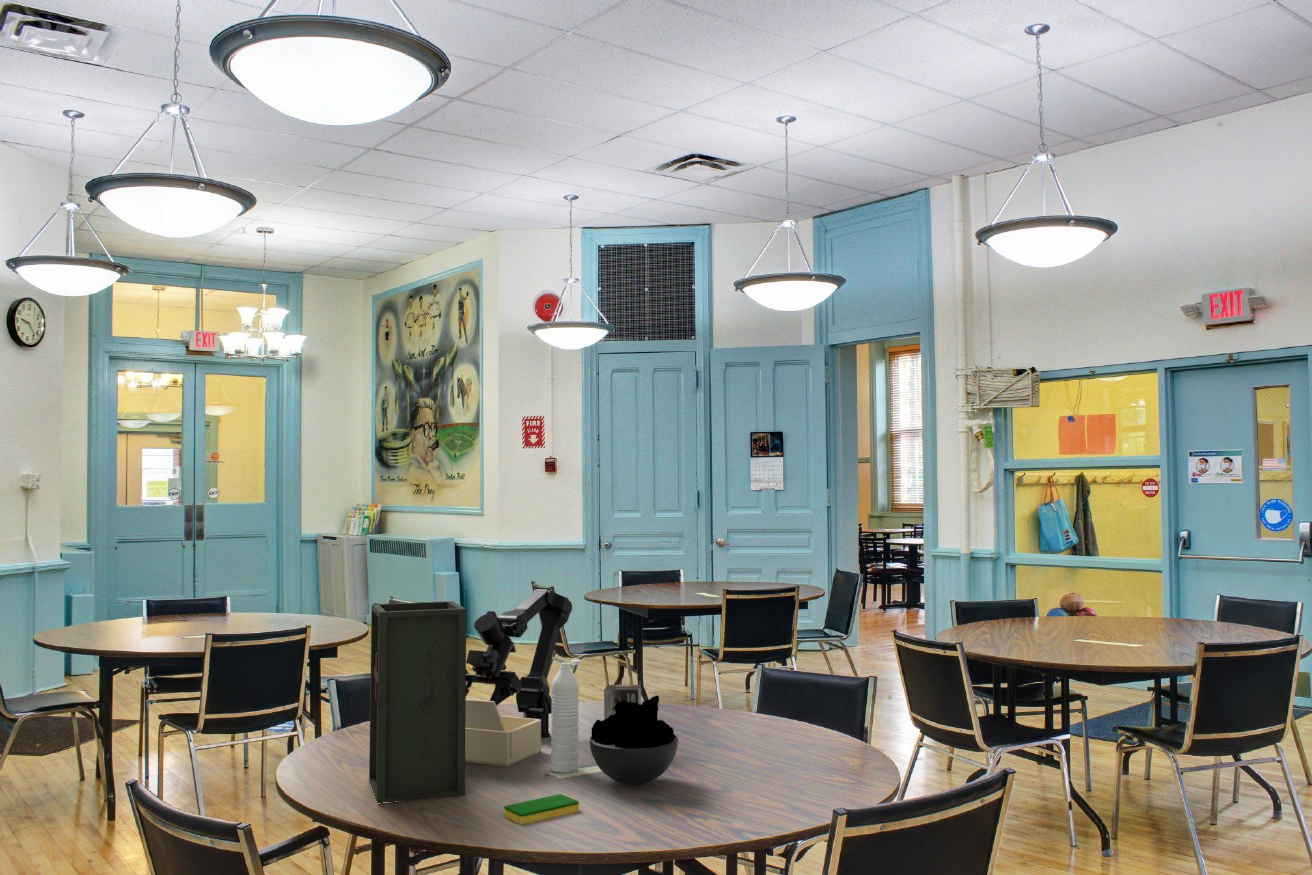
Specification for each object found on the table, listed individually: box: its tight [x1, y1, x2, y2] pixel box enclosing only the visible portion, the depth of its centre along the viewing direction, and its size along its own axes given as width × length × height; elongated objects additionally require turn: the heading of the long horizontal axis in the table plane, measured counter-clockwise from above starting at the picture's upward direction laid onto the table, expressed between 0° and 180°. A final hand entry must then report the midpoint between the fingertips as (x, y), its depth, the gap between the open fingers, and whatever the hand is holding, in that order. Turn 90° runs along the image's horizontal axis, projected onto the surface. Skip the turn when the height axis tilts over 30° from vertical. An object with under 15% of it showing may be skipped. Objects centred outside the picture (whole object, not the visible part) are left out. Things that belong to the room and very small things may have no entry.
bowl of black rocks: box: [589, 694, 679, 786], centre depth 229 cm, size 20×20×19 cm
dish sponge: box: [503, 793, 580, 825], centre depth 207 cm, size 7×14×2 cm, turn 128°
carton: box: [465, 715, 542, 768], centre depth 255 cm, size 16×21×8 cm
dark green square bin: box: [368, 600, 467, 804], centre depth 226 cm, size 18×18×40 cm
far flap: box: [465, 698, 505, 731], centre depth 245 cm, size 9×19×1 cm
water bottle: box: [550, 659, 582, 774], centre depth 242 cm, size 9×6×25 cm
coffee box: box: [603, 684, 642, 720], centre depth 259 cm, size 9×6×16 cm
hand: (471, 709), depth 247 cm, fingers open, 9 cm apart
